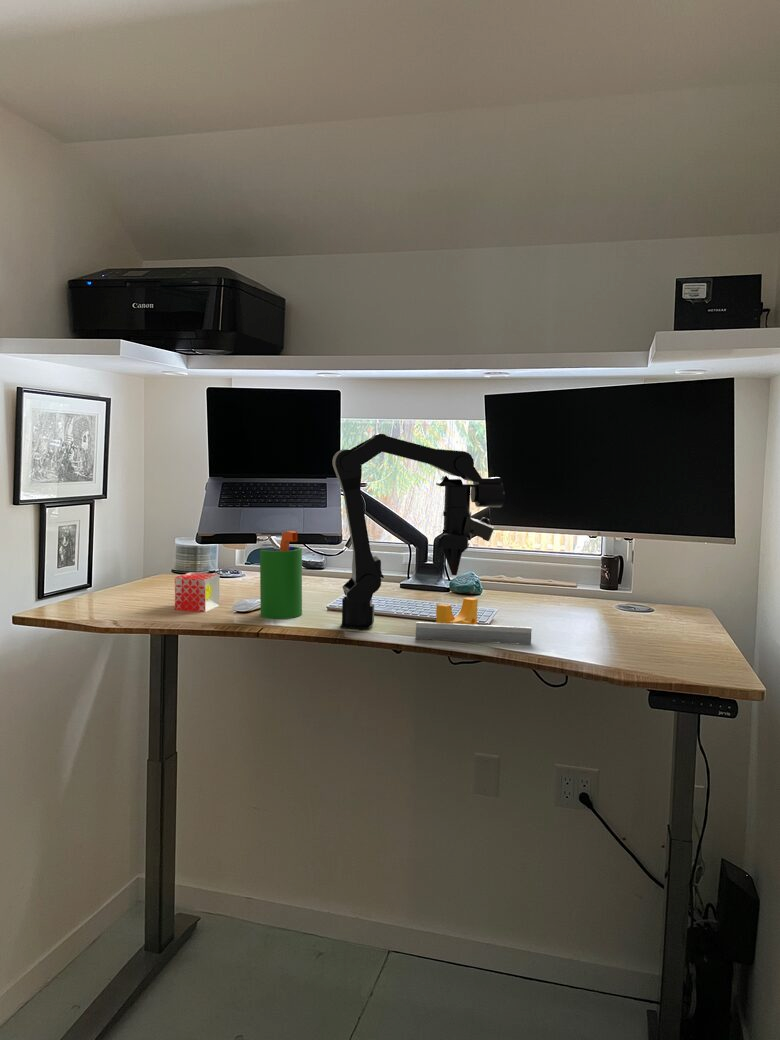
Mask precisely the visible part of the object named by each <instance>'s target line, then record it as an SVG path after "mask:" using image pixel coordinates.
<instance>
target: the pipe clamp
mask: <svg viewBox="0 0 780 1040" xmlns="http://www.w3.org/2000/svg"><path fill="white" fill-rule="evenodd" d="M478 600H479V599H478V598H474V597H463V599H462V605H461V608H460V611H459V612H458V614H457V615H456V616H454V614H453V611H452V610H453V609H452V605H451V604H448V603H447V604H446V603H439V604H436V609H435V611H436V612H435V616H436V619H435V623H452V624H472V625H478Z"/></svg>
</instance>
